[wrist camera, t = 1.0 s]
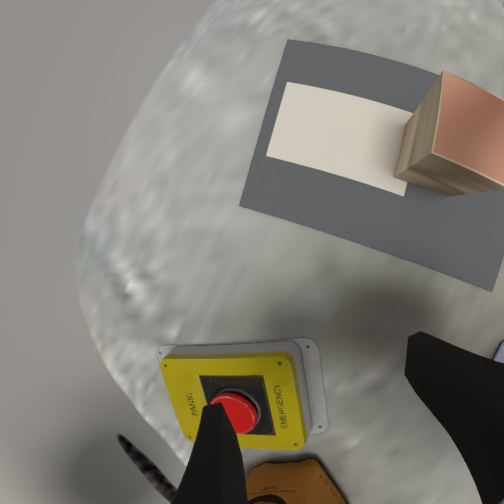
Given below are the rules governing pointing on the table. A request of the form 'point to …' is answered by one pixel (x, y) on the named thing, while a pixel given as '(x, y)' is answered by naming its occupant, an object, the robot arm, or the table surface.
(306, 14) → the table surface
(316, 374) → the emergency button
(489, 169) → the wooden block
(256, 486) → the coffee package
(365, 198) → the rubber mat
